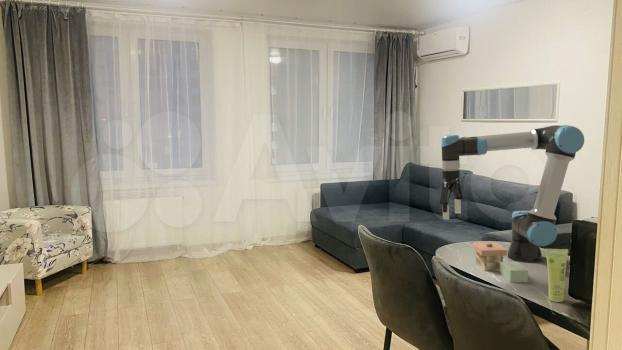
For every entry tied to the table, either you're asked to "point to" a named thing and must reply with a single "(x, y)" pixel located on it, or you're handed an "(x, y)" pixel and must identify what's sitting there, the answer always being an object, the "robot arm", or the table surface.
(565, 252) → the tube
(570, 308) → the table surface
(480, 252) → the lid
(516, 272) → the pale green rectangular block
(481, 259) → the box
